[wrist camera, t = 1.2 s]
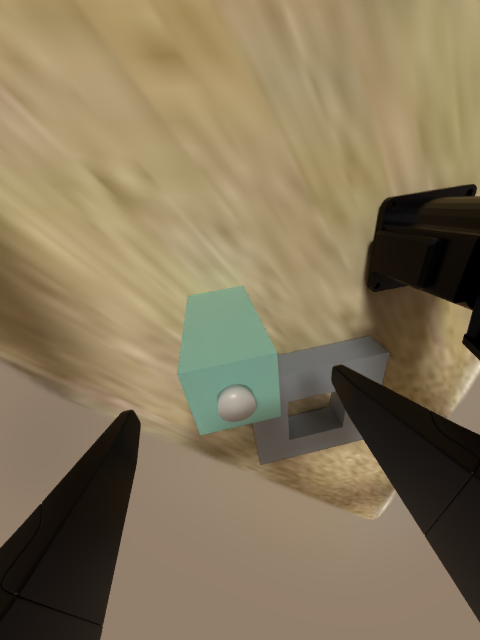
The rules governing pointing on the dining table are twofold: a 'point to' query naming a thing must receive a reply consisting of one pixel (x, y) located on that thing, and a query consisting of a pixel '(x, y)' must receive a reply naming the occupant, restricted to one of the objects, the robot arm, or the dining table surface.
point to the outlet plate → (311, 380)
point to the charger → (227, 362)
